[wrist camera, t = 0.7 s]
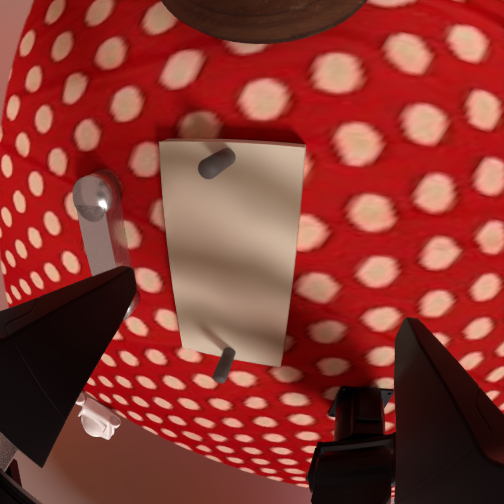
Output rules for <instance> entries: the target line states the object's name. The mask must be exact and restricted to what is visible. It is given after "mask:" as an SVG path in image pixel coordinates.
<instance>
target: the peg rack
mask: <svg viewBox="0 0 504 504" xmlns="http://www.w3.org/2000/svg"><path fill="white" fill-rule="evenodd" d="M159 149H160V167H161V182H162V195H163V207H164V218H165V228H166V237H167V246H168V254H169V262H170V270H171V277H172V285H173V291H174V298H175V305H176V311H177V317H178V323H179V329H180V335H181V340H182V346H183V348H186V349H190V350H194V351H199V352H203V353H207V354H212V355H217V356H221V358H220V360H219V362H218V365H217V367H216V370H215V372H214V375H213V380H214V381H216V382H218V383H224V382H225V381H226V379H227V376H228V373H229V370H230V368H231V365H232V362H233V359H236V360H241V361H246V362H252V363H257V364H263V365H269V366H275V367H281V362H282V357H283V351H284V344H285V337H286V330H287V323H288V315H289V308H290V300H291V292H292V284H293V276H294V267H295V259H296V250H297V240H298V231H299V221H300V211H301V200H302V189H303V177H304V165H305V152H306V144H296V143H285V142H272V141H257V140H238V139H201V138H178V139H166V140H163V141H160V142H159Z"/></svg>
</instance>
